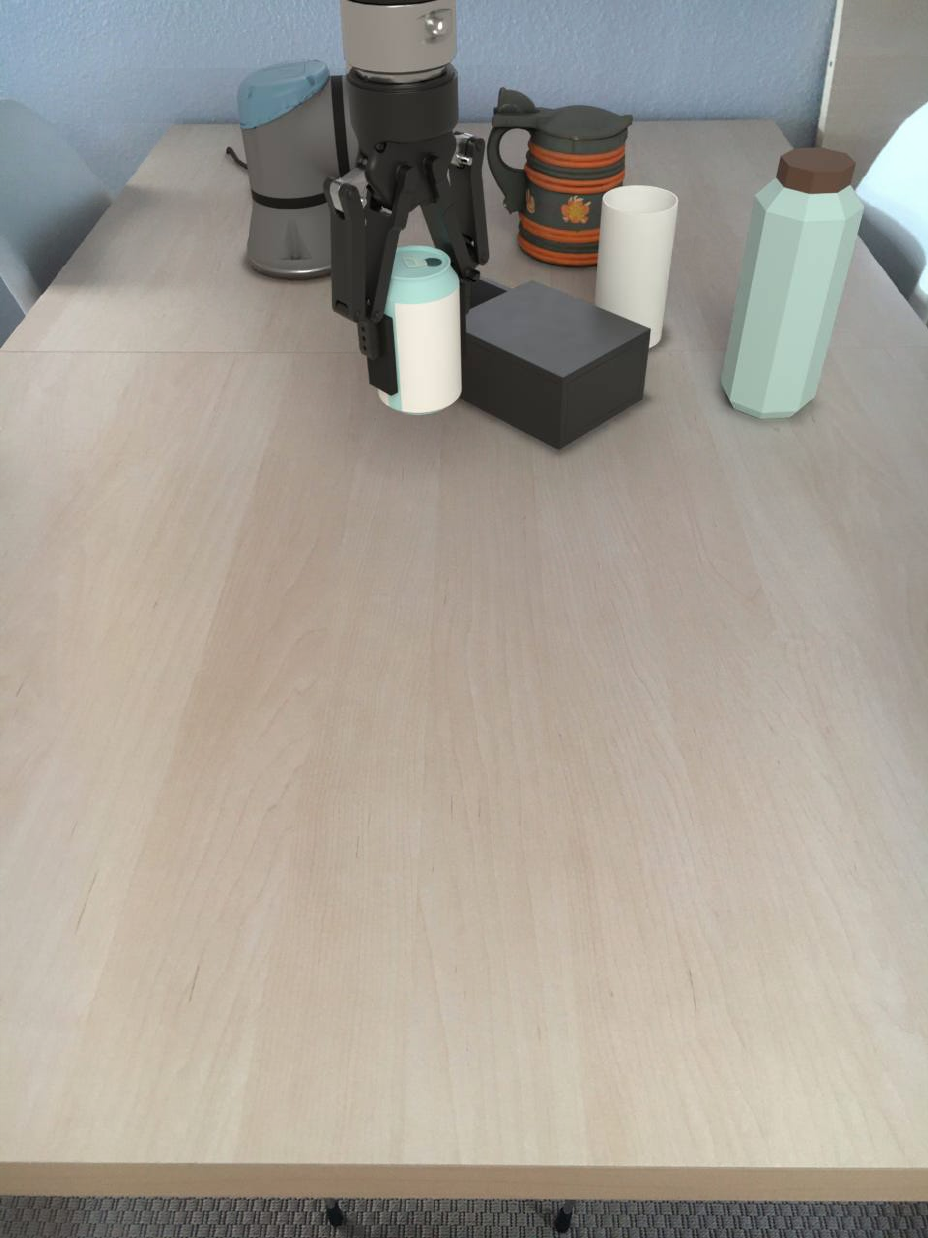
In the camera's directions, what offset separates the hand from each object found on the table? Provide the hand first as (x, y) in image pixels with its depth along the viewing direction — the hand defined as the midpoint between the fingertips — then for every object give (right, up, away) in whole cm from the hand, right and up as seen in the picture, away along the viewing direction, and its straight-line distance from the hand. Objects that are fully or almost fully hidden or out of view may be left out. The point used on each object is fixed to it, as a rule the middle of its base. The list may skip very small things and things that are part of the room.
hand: (418, 369), depth 82 cm
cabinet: (+13, +4, +27) cm, 30 cm away
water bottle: (+37, +3, +26) cm, 45 cm away
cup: (+23, +13, +37) cm, 45 cm away
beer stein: (+17, +31, +55) cm, 65 cm away
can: (0, -2, +2) cm, 3 cm away
